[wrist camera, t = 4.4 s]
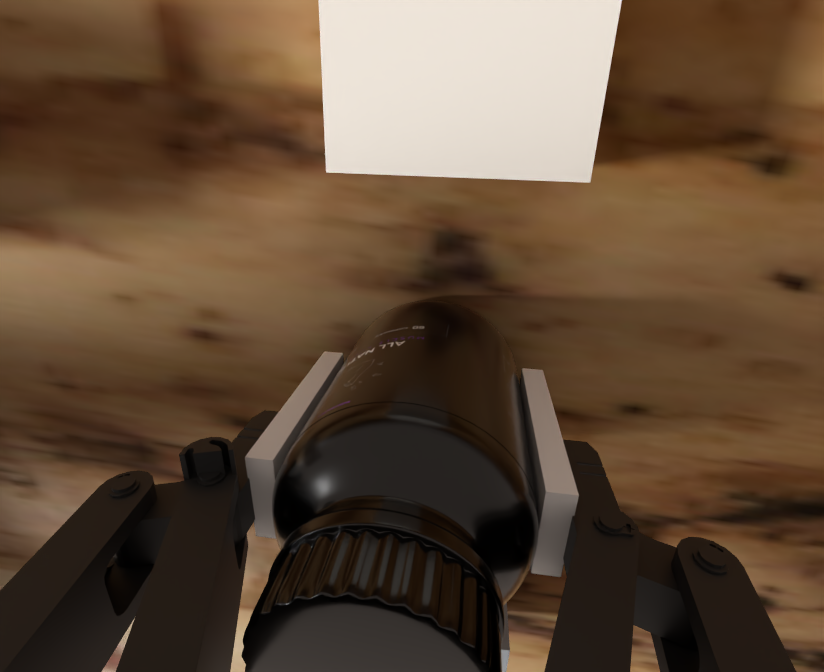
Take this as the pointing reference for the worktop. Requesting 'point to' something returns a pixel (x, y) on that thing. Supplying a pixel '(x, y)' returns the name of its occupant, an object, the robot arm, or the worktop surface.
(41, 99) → the worktop surface
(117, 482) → the robot arm
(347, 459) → the supplement bottle
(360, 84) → the off-white block
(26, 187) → the worktop surface
